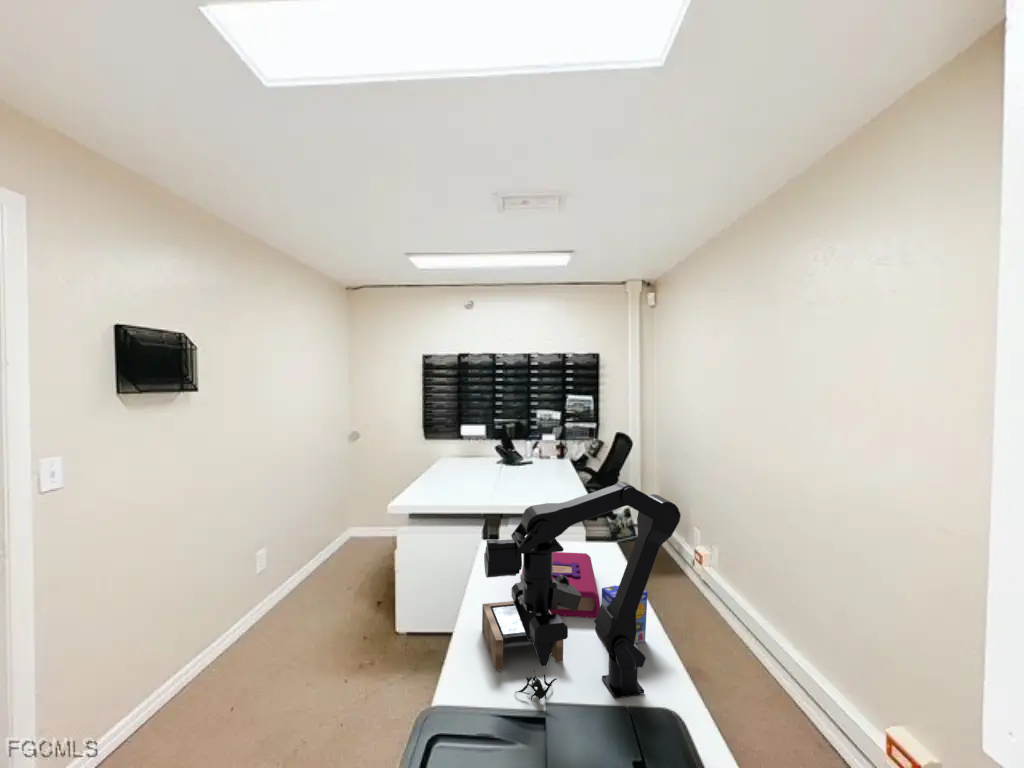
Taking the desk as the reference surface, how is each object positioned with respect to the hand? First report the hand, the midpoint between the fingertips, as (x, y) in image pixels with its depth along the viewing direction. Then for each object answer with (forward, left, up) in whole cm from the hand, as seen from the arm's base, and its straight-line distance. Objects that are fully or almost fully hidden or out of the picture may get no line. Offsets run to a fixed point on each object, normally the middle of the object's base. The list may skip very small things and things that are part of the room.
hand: (536, 652), depth 96 cm
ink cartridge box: (+15, -26, -9) cm, 31 cm away
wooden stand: (+18, -1, -9) cm, 20 cm away
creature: (+1, 0, -9) cm, 9 cm away
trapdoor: (+17, -1, -3) cm, 18 cm away
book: (+42, -19, -9) cm, 47 cm away
